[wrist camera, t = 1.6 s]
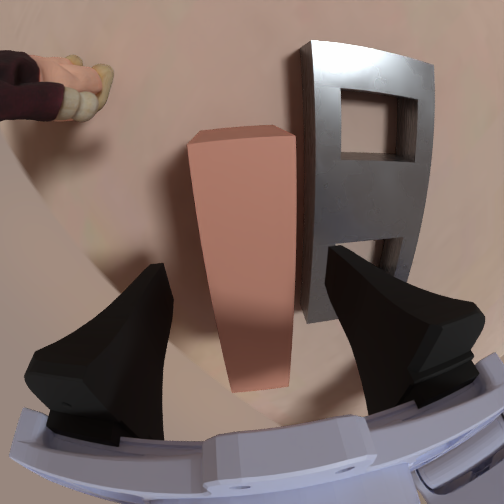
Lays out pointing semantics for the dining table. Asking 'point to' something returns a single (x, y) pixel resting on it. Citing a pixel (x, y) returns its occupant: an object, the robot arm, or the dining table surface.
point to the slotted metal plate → (362, 163)
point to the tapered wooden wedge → (249, 246)
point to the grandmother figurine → (51, 87)
